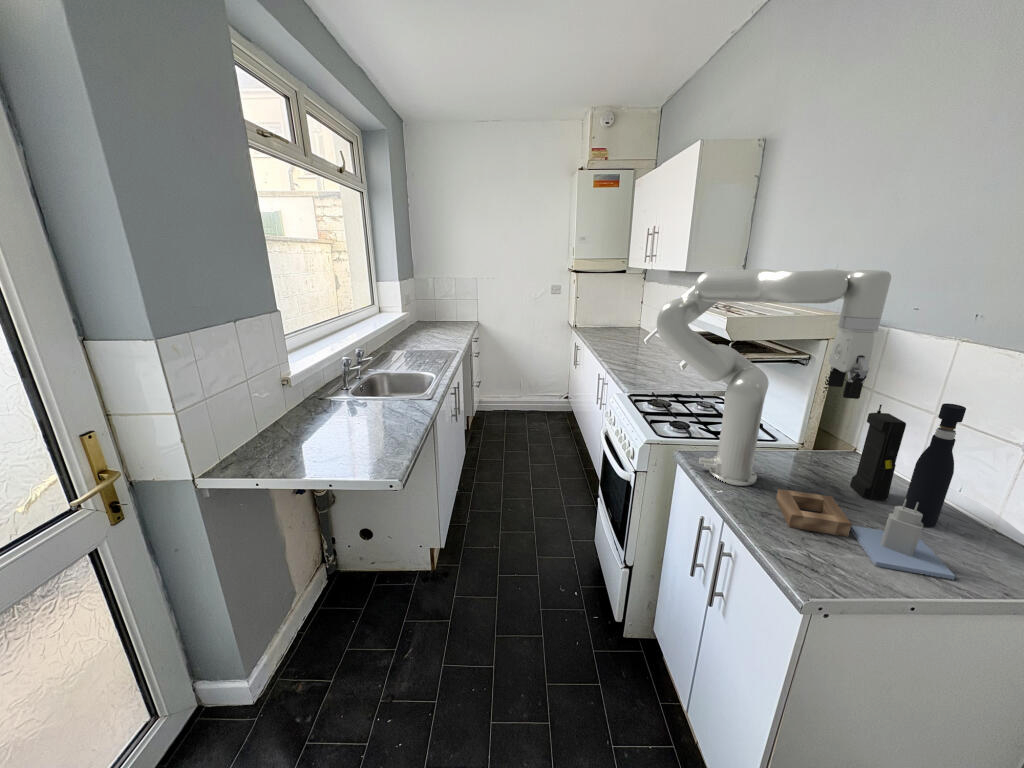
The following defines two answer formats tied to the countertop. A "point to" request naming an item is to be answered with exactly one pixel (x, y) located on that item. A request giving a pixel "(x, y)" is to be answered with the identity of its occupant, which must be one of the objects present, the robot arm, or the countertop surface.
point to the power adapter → (903, 530)
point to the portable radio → (878, 456)
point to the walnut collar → (825, 522)
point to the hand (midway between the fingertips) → (842, 391)
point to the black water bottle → (935, 468)
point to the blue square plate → (900, 555)
